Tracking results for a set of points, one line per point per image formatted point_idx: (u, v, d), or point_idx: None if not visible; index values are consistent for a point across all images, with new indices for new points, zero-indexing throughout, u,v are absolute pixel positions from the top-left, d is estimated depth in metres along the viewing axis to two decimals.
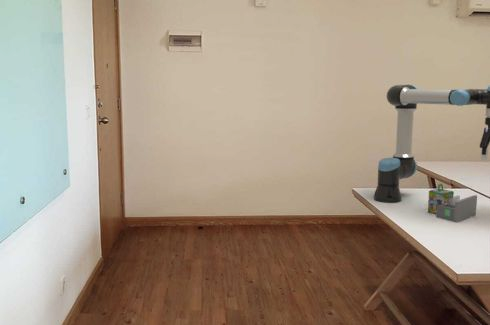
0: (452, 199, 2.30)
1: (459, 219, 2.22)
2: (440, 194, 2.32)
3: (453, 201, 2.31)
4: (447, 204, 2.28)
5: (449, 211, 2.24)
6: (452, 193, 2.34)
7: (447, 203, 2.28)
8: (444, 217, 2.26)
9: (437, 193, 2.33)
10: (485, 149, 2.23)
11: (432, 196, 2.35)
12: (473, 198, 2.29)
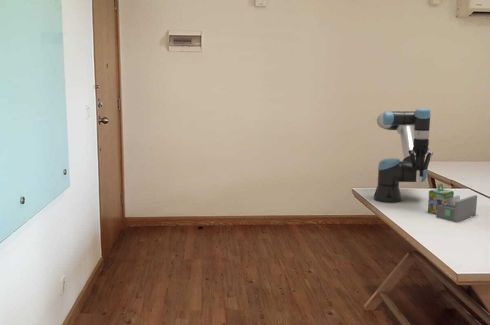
0: (452, 199, 2.30)
1: (459, 219, 2.22)
2: (440, 194, 2.32)
3: (453, 201, 2.31)
4: (447, 204, 2.28)
5: (449, 211, 2.24)
6: (452, 193, 2.34)
7: (447, 203, 2.28)
8: (444, 217, 2.26)
9: (437, 193, 2.33)
10: (416, 171, 2.45)
11: (432, 196, 2.35)
12: (473, 198, 2.29)
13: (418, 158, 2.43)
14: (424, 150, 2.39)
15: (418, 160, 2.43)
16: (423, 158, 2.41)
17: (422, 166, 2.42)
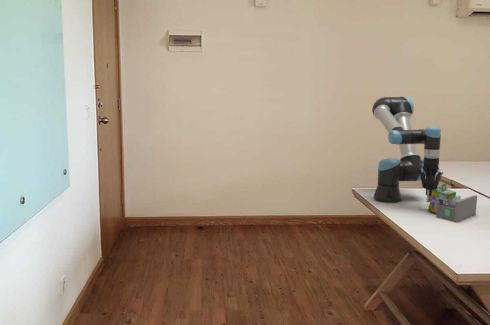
0: (453, 199, 2.30)
1: (459, 219, 2.22)
2: (443, 194, 2.30)
3: (454, 201, 2.31)
4: (448, 204, 2.28)
5: (449, 211, 2.24)
6: (455, 194, 2.33)
7: (448, 203, 2.28)
8: (444, 217, 2.26)
9: (440, 193, 2.31)
10: (426, 190, 2.41)
11: (434, 195, 2.34)
12: (473, 198, 2.29)
13: (428, 177, 2.39)
14: (434, 169, 2.36)
15: (428, 179, 2.40)
16: (433, 177, 2.38)
17: (432, 185, 2.38)
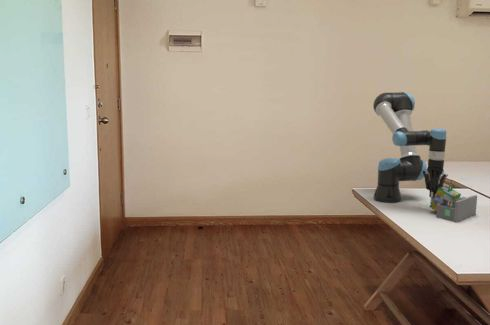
0: None
1: (459, 219, 2.22)
2: (449, 195, 2.28)
3: None
4: (453, 205, 2.26)
5: (449, 211, 2.24)
6: (459, 196, 2.32)
7: (453, 204, 2.26)
8: (444, 217, 2.26)
9: (446, 193, 2.29)
10: (430, 192, 2.39)
11: (439, 194, 2.31)
12: (473, 198, 2.29)
13: (433, 179, 2.38)
14: (439, 171, 2.34)
15: (433, 181, 2.38)
16: (437, 179, 2.36)
17: (436, 187, 2.36)
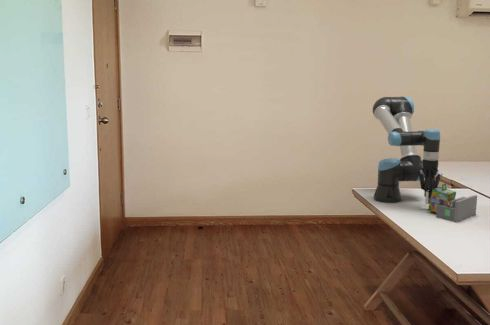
0: None
1: (459, 219, 2.22)
2: (444, 194, 2.30)
3: None
4: (453, 205, 2.26)
5: (449, 211, 2.24)
6: (455, 194, 2.33)
7: (453, 204, 2.26)
8: (444, 217, 2.26)
9: (441, 193, 2.31)
10: (425, 192, 2.42)
11: (435, 195, 2.33)
12: (473, 198, 2.29)
13: (427, 179, 2.40)
14: (434, 171, 2.36)
15: (427, 181, 2.41)
16: (432, 179, 2.39)
17: (431, 187, 2.39)
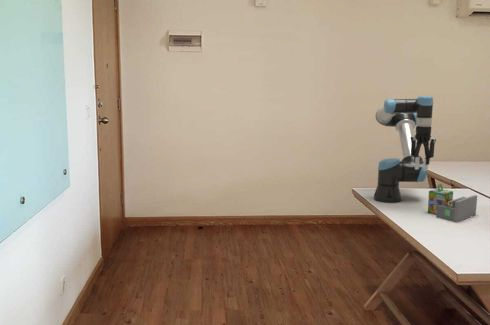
0: None
1: (459, 219, 2.22)
2: (440, 194, 2.31)
3: None
4: (453, 205, 2.26)
5: (449, 211, 2.24)
6: (452, 193, 2.34)
7: (453, 204, 2.26)
8: (444, 217, 2.26)
9: (437, 193, 2.32)
10: (415, 158, 2.44)
11: (432, 196, 2.34)
12: (473, 198, 2.29)
13: (419, 146, 2.42)
14: (427, 138, 2.37)
15: (418, 148, 2.42)
16: (427, 145, 2.39)
17: (428, 154, 2.39)
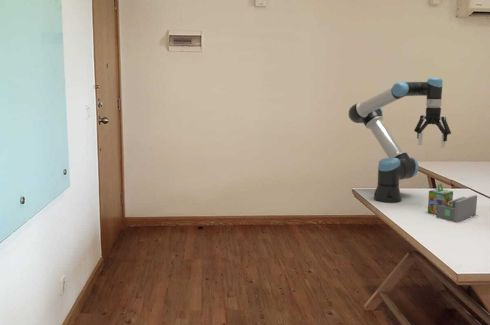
0: None
1: (459, 219, 2.22)
2: (440, 194, 2.31)
3: None
4: (453, 205, 2.26)
5: (449, 211, 2.24)
6: (452, 193, 2.34)
7: (453, 204, 2.26)
8: (444, 217, 2.26)
9: (437, 193, 2.32)
10: (418, 134, 2.56)
11: (432, 196, 2.34)
12: (473, 198, 2.29)
13: (425, 125, 2.52)
14: (437, 118, 2.46)
15: (424, 126, 2.53)
16: (440, 124, 2.46)
17: (444, 130, 2.44)
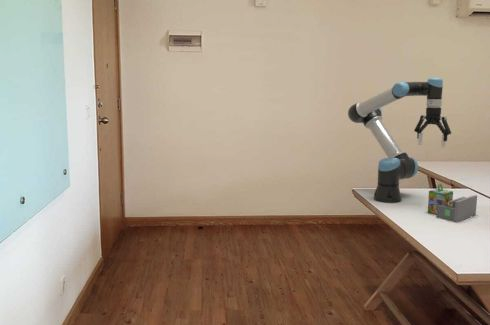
0: None
1: (459, 219, 2.22)
2: (440, 194, 2.31)
3: None
4: (453, 205, 2.26)
5: (449, 211, 2.24)
6: (452, 193, 2.34)
7: (453, 204, 2.26)
8: (444, 217, 2.26)
9: (437, 193, 2.32)
10: (418, 134, 2.57)
11: (432, 196, 2.34)
12: (473, 198, 2.29)
13: (426, 125, 2.53)
14: (437, 118, 2.46)
15: (424, 126, 2.53)
16: (440, 124, 2.47)
17: (444, 130, 2.45)
